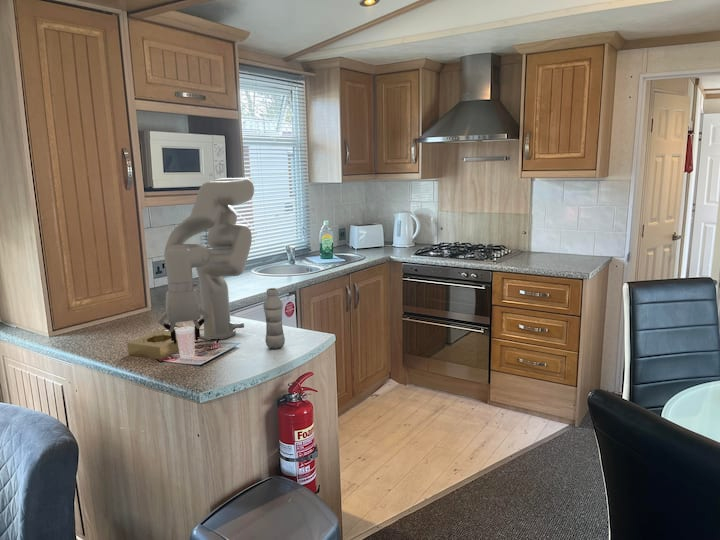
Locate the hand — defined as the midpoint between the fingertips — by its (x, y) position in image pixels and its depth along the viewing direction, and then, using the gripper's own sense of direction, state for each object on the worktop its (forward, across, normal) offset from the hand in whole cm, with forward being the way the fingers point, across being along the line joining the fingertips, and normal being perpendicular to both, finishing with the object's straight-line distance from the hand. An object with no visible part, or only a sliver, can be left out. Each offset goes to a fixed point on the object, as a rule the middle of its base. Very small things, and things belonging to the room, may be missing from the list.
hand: (185, 340), depth 171 cm
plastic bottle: (+5, -28, +5) cm, 29 cm away
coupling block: (+5, +8, -10) cm, 14 cm away
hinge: (+5, -9, -62) cm, 63 cm away
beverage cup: (+5, 0, 0) cm, 5 cm away
